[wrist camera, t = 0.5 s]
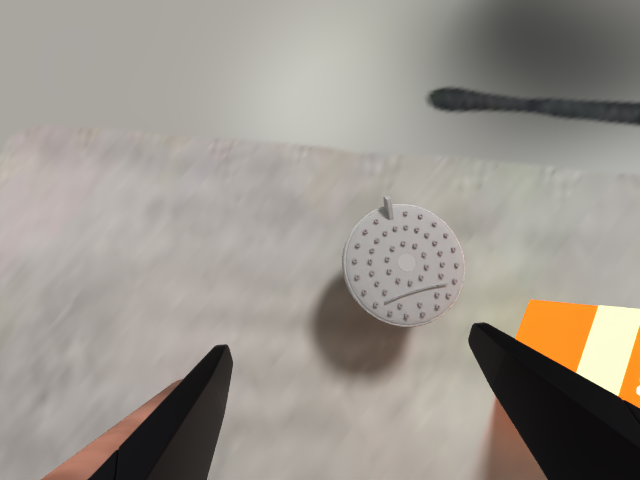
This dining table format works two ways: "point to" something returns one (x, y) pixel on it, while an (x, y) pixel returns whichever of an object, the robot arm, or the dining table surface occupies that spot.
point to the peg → (106, 443)
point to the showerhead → (403, 265)
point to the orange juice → (588, 342)
